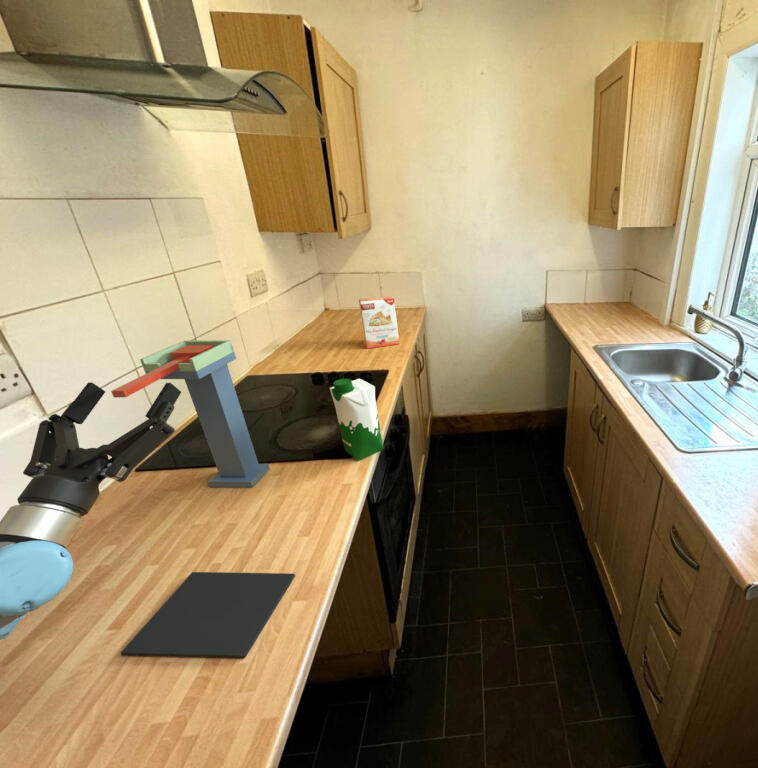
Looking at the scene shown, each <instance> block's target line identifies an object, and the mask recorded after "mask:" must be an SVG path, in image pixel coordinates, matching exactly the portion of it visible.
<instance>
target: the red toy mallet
mask: <svg viewBox="0 0 758 768" xmlns="http://www.w3.org/2000/svg"><path fill="white" fill-rule="evenodd" d="M213 347H214V345H186V346H184V347H181V348H179V349H177V350H175V351H173V352H171V353H170V356H171V359H172V361H171V362H169V363H167V364H165V365H163V366H161V367H159V368H157V369H155V370H153V371H151V372H149V373H147V374H146V373H145V374H143V375H140V376H138V377H137V378H134V379H132V380H131V381H129V382H126V383H124V384H123V385H121V386H118V387H117V388H114V389H112V390H111V391H110V392H111V395H112V397H113V398H114V399H115V398H117V399H118V398H128V397H129V396H131V395H133V394H135V393H137V392H139V391H141V390H142V389H144V388H147V387H148V386H150V385H153V384H154V383H156V382H158V381H160V380H162V379H161V378H163V377H165V376H167V375H169V374H171V373H172V372H174V371H176V370H178V369H179V366H178V364H179V363H190V360H189V359H190V358H192V357H195V356H197V355H199V354H201V353H203V352H205V351H207V350H209V349H211V348H213Z"/></svg>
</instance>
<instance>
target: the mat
mask: <svg viewBox="0 0 758 768" xmlns="http://www.w3.org/2000/svg"><path fill="white" fill-rule="evenodd" d="M295 578H296V574H295V573H286V572H285V573H283V572H282V573H281V572H280V573H279V572H278V573H277V572H276V573H275V572H222V571H221V572H220V571H219V572H217V571H215V572H213V571H204V572H203V571H192V572H191V573H190V574H189V575H188V576H187V577H186V579H185V580H183V582H182V583H181V584H180V585H179V586H178V588H177V589H176V590H175V591H173V593H172V594H171V595H170V597H169V598H168V599H166V601H165V602H164V603H163V604H162V605H161V607H159V609H158V610H157V611H156V612H155V614H154V615H152V617H151V618H150V619H149V620H148V621H147V622H146V623H145V624H144V626H143V627H142V628H141V629H140V630H139V631H138V632H137V633H136V635H134V637H133V638H132V639H131V640H130V641H129V643H127V644H126V645H125V647H124V648H123V649H122V650H121V652H120V655H121V656H126V657H127V656H128V657H130V656H134V657H172V658H175V657H176V658H212V659H216V658H217V659H246V657H247V656H248V654H249V653H250V651H251V649H252V647H253V646H254V644H255V643H256V642H257V640H258V638H259V636H260V635H261V633H262V631H263V629H264V628H265V626H266V625H267V623H268V622H269V620H270V618H271V617H272V615H273V613H274V612H275V610H276V609H277V607H278V605H279V604H280V602H281V600H282V599H283V597H284V596H285V594H286V593H287V590H288V589H289V587H290V586H291V584H292V583H293V581H294V579H295Z"/></svg>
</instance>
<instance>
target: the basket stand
mask: <svg viewBox="0 0 758 768" xmlns="http://www.w3.org/2000/svg"><path fill="white" fill-rule="evenodd" d="M186 345H214V347H213V348H211V349H209V350H207V351H205V352H203V353H201V354H199V355H197V356H195V357H192V358H190V359H189V360H190V363H179V364H178V366H179V369H178V370H176V371H174V372H172V373H171V374H169V375H167V376H165V377H163V378H161V379H160V380H184V382H185V385H186V388H187V391H188V393H189V396H190V399H191V401H192V405H193V407H194V410H195V412H196V415H197V418H198V420H199V423H200V426H201V429H202V431H203V435H204V437H205V439H206V442H207V445H208V447H209V450H210V452H211V455H212V458H213V462H214V464H215V467H216V469H217V472H216V473H215V474H214V475H213V476H212V477H210V479H209V480H207V484H208V487H209V488H240V489H241V488H245V489H247V488H249V489H250V488H251V489H252V488H254V487H255V486H256V485H257V484H258V483H259V482H260V480H261V479H263V477H264V476H265V475H266V474H267V473H268V472H269V471H270V470H271V467H270V464H269V463H259V461H258V457H257V454H256V451H255V448H254V444H253V442H252V438H251V435H250V432H249V429H248V426H247V423H246V420H245V416H244V413H243V410H242V407H241V404H240V401H239V397H238V394H237V391H236V389H235V385H234V381H233V379H232V375H231V372H230V369H229V367H228V364H229V363H232V362H233V361H235V360H237V356H236V353H235V350H234V347H233V343H232V340H230V339H229V340H226V339H225V340H217V339H216V340H183V341H179V342H178V343H174V344H172V345H171V346H168V347H166V348H162V349H161V350H159V351H156V352H153V353H151V354H149V355H146V356H144V357H141V358H140V359H139V361H140V363H141V365H142V368H143V371H144V373H145V374H147V373H149V372H151V371H153V370H155V369H157V368H159V367H161V366H163V365H165V364H167V363H169V362H171V361H172V359H171V356H170V353H171V352H173V351H175V350H177V349H179V348H181V347H184V346H186Z"/></svg>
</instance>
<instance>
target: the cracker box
mask: <svg viewBox="0 0 758 768" xmlns="http://www.w3.org/2000/svg"><path fill="white" fill-rule="evenodd" d="M358 304H359V310H360V311H359V312H360V316H361V317H360V318H361V323H362V330H363V335H364V342H365V346H366V348H367V349H375V348H383V347H388V346H389V347H390V346H397V345H400V336H399V330H398V321H397V312H396V303H395V298H394V297H393V296H392V295H388V296H377V297H376V296H375V297H366V298H358Z"/></svg>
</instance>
